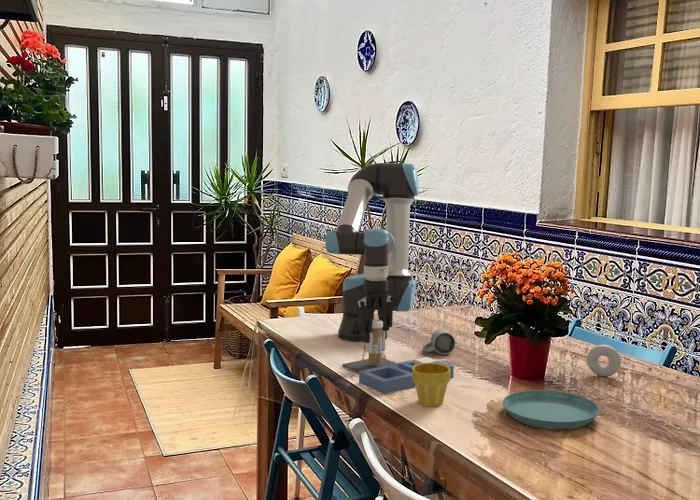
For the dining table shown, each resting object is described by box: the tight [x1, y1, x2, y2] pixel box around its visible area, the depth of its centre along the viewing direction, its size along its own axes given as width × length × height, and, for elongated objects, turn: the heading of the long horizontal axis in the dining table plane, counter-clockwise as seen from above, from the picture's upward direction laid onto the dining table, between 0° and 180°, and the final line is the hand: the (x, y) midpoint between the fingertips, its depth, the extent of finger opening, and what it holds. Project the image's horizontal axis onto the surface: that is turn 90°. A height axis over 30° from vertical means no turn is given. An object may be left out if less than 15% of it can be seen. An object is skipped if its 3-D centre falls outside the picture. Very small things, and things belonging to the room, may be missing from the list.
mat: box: [341, 357, 399, 374], centre depth 226 cm, size 15×15×1 cm
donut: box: [586, 344, 622, 377], centre depth 217 cm, size 10×4×10 cm, turn 65°
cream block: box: [413, 356, 438, 366], centre depth 218 cm, size 5×5×5 cm
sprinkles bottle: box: [368, 319, 383, 364], centre depth 225 cm, size 5×5×13 cm
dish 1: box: [358, 365, 416, 395], centre depth 209 cm, size 12×12×4 cm
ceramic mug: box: [422, 329, 456, 356], centre depth 245 cm, size 11×8×8 cm
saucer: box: [502, 389, 600, 430], centre depth 185 cm, size 24×24×3 cm
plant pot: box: [412, 363, 451, 408], centre depth 194 cm, size 10×10×10 cm
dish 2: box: [397, 356, 455, 379], centre depth 218 cm, size 12×12×4 cm
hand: (375, 350), depth 225 cm, fingers closed on sprinkles bottle, 4 cm apart
